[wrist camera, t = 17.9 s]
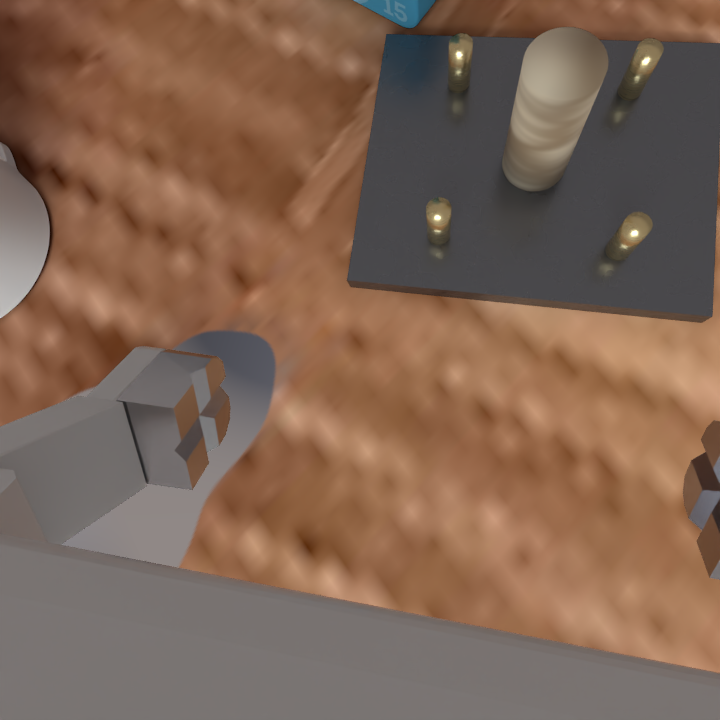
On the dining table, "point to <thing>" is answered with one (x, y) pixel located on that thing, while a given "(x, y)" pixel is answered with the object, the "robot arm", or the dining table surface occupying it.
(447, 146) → the pin plate
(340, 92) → the dining table surface
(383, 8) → the data package
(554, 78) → the birch post
